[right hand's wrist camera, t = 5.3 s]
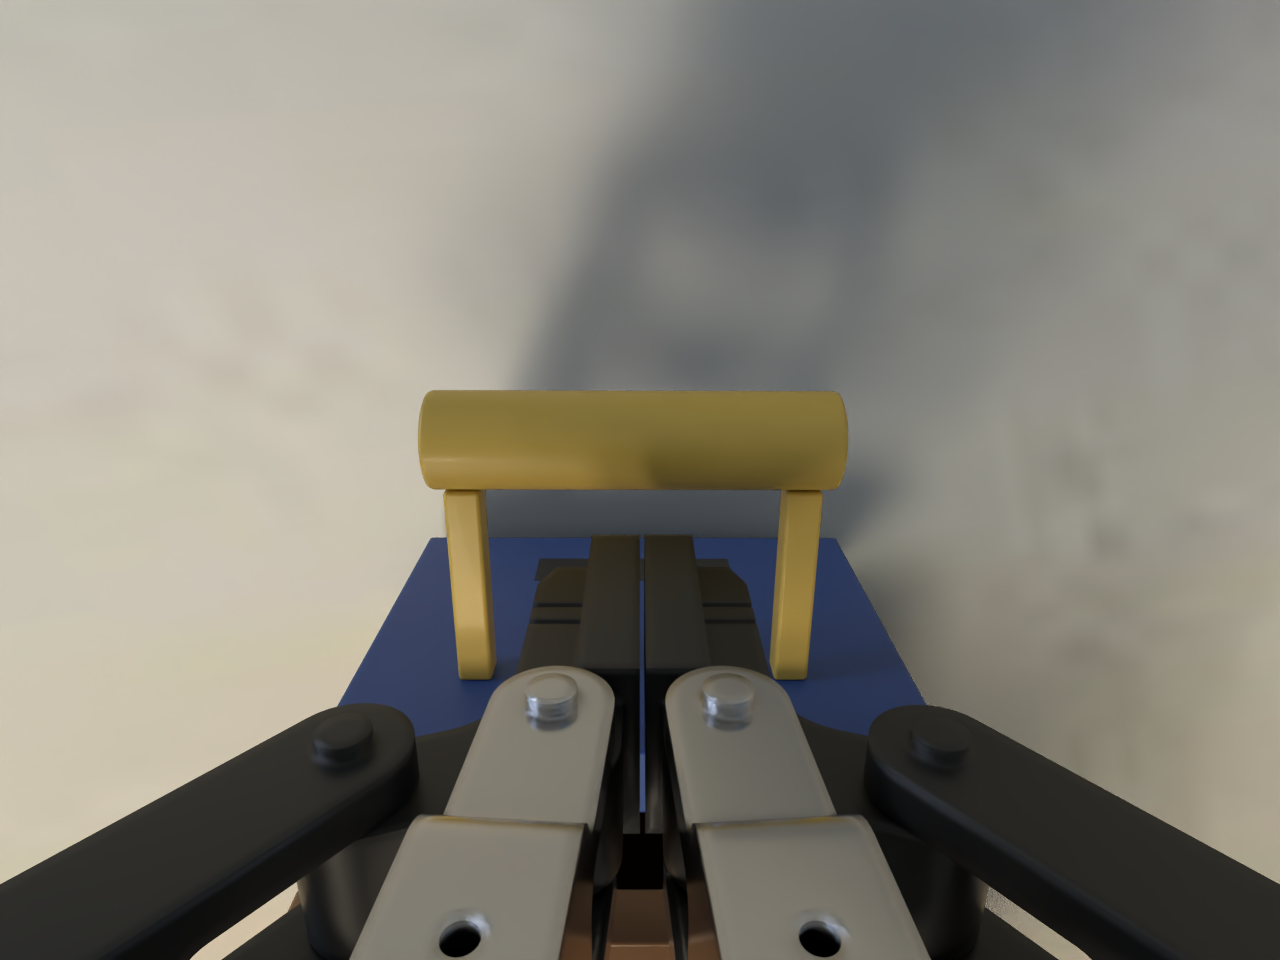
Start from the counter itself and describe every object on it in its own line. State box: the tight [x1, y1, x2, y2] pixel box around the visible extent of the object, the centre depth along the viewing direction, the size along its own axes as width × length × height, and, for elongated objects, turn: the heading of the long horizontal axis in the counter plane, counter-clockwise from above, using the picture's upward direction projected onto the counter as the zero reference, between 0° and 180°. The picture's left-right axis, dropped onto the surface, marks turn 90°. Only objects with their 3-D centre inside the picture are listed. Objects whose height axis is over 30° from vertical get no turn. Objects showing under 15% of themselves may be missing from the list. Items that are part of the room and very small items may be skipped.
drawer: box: [337, 390, 926, 890], centre depth 18 cm, size 19×10×8 cm, turn 0°
